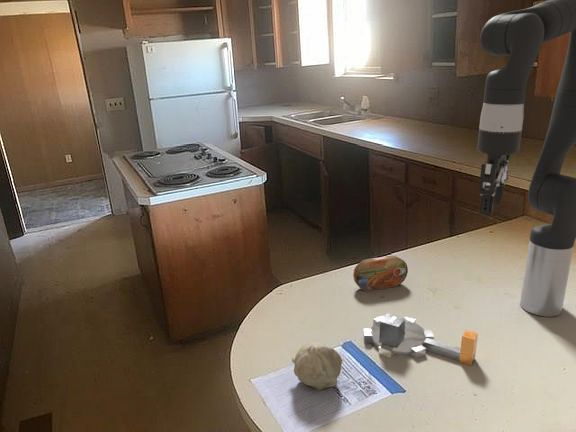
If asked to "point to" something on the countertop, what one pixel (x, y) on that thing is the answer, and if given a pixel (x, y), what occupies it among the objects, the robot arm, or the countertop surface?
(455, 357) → the drive pin
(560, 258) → the robot arm
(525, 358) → the countertop surface
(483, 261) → the countertop surface
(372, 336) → the sprocket
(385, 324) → the grey cube with slot
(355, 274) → the tin
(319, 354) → the garlic bulb
